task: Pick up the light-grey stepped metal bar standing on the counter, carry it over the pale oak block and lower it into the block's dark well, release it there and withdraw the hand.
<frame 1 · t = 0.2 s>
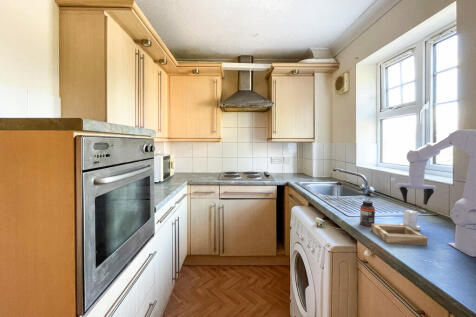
hand: (415, 203, 104), 10 cm above the worktop, fingers open, 7 cm apart
supplement bottle: (366, 224, 103), on the worktop
stepped metal bar: (409, 228, 98), on the worktop
well block: (396, 237, 89), on the worktop
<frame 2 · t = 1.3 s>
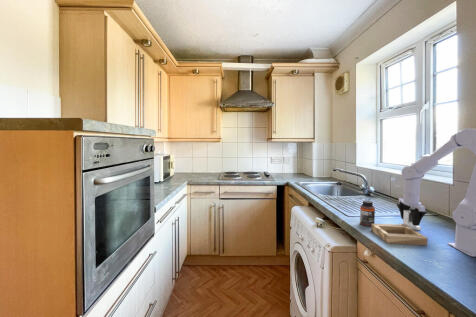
hand: (409, 222, 98), 3 cm above the worktop, fingers open, 7 cm apart
nothing on the worktop moved.
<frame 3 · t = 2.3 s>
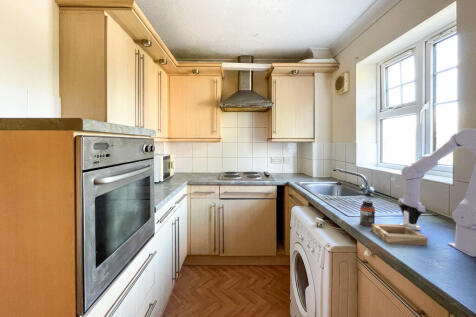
hand: (409, 222, 98), 3 cm above the worktop, fingers closed on stepped metal bar, 3 cm apart
stepped metal bar: (409, 228, 98), on the worktop, touching gripper
everything else where it was.
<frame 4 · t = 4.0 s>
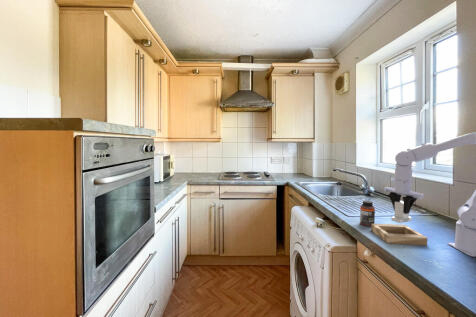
hand: (401, 211, 91), 10 cm above the worktop, fingers closed on stepped metal bar, 3 cm apart
stepped metal bar: (401, 220, 91), point 6 cm above the worktop, touching gripper
everything else where it was.
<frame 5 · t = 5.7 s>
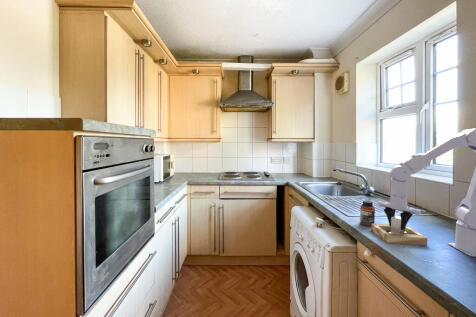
hand: (397, 227, 89), 4 cm above the worktop, fingers closed on stepped metal bar, 3 cm apart
stepped metal bar: (397, 236, 89), resting on well block, touching gripper
everything else where it was.
when the fingers open (4 cm above the worktop, at t = 6.5 s): stepped metal bar stays where it is, resting on well block.
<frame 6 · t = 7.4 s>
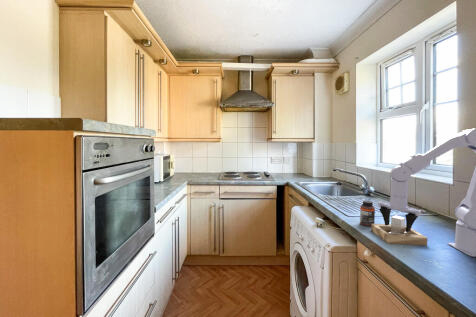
hand: (397, 227, 89), 4 cm above the worktop, fingers open, 7 cm apart
stepped metal bar: (397, 236, 89), resting on well block
everything else where it was.
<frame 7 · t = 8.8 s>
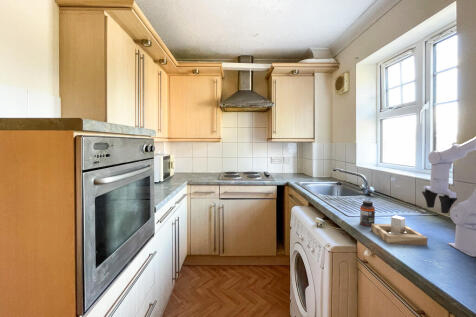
hand: (437, 210, 93), 10 cm above the worktop, fingers open, 7 cm apart
nothing on the worktop moved.
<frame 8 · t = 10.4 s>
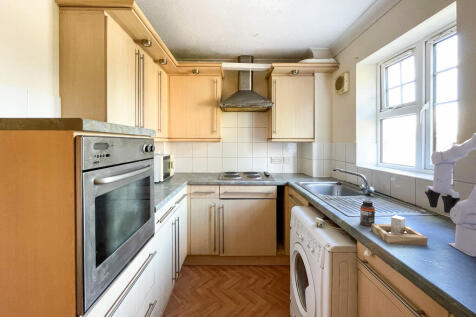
hand: (440, 210, 94), 10 cm above the worktop, fingers open, 7 cm apart
nothing on the worktop moved.
at the end: stepped metal bar 0.5 cm off-centre on the well block, point 0.3 cm above the well block's base; stepped metal bar tilted 0°; the gripper is holding nothing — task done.
